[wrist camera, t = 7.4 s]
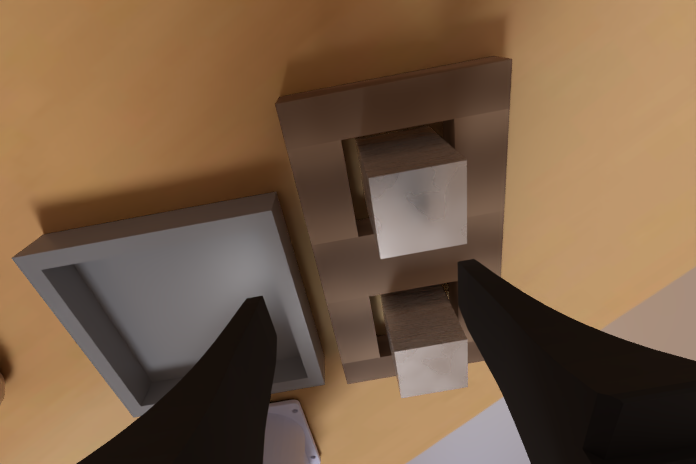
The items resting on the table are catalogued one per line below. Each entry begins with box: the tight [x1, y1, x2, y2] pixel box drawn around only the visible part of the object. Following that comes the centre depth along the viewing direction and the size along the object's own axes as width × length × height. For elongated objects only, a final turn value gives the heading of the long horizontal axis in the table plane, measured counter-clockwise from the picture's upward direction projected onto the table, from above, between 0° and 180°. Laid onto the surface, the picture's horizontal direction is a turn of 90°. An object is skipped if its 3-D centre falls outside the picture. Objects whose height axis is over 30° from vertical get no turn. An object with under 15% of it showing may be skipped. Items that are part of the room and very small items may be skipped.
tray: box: [12, 192, 325, 417], centre depth 23 cm, size 14×14×2 cm
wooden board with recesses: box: [275, 56, 512, 384], centre depth 22 cm, size 20×11×2 cm, turn 9°
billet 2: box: [380, 284, 468, 398], centre depth 23 cm, size 4×4×6 cm
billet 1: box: [356, 125, 467, 259], centre depth 18 cm, size 4×4×6 cm
